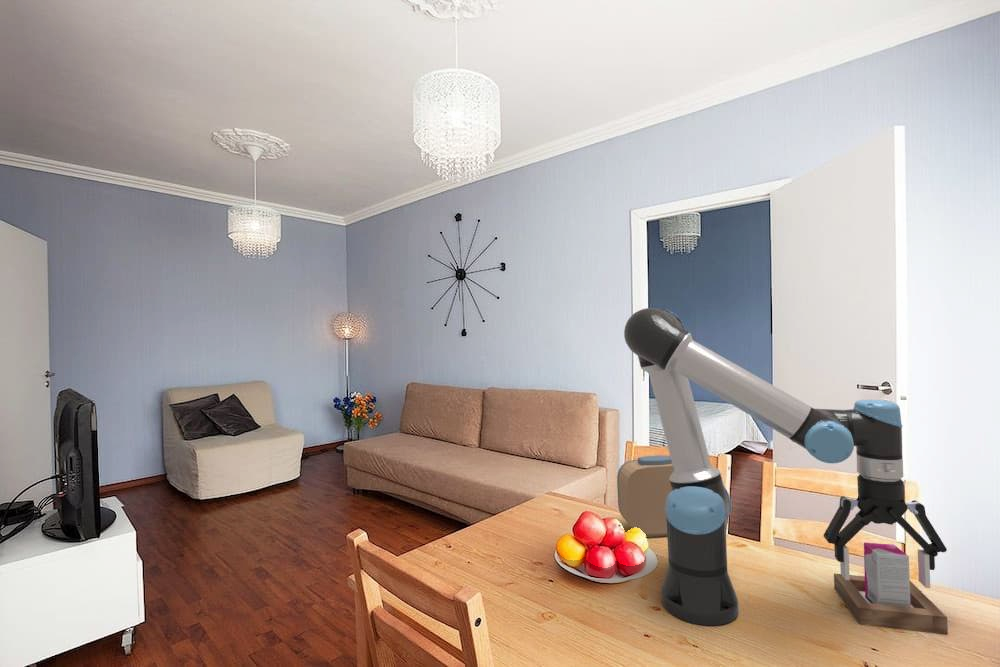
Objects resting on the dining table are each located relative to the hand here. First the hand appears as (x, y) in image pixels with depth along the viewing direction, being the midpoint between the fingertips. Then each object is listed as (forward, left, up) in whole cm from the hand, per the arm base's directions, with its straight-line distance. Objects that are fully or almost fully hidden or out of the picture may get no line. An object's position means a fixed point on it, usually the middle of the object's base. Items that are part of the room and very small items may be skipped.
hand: (884, 581), depth 100 cm
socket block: (0, 0, -6) cm, 6 cm away
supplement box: (0, 0, -5) cm, 5 cm away
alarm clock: (-44, +32, -6) cm, 55 cm away
